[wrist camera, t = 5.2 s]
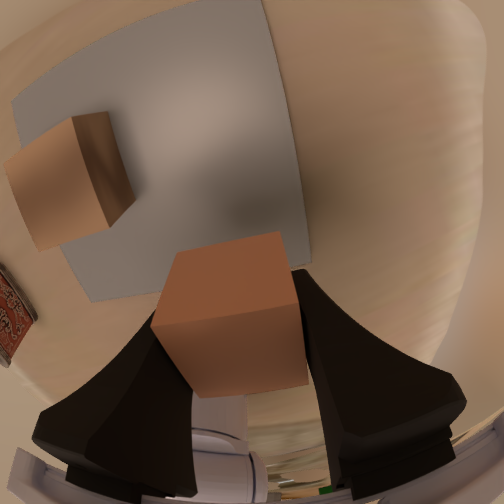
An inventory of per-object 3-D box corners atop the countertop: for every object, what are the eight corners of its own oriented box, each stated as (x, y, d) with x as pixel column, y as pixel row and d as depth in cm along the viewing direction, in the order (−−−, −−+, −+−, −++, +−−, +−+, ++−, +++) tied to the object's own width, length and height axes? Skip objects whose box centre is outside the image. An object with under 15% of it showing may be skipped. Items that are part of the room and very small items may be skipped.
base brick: (135, 200, 16) (109, 228, 12) (69, 223, 16) (39, 252, 13) (107, 111, 13) (71, 116, 9) (41, 148, 13) (3, 163, 10)
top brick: (293, 309, 12) (308, 384, 9) (207, 324, 12) (199, 398, 9) (279, 230, 10) (299, 302, 7) (177, 252, 10) (150, 326, 7)
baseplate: (308, 254, 19) (311, 262, 18) (95, 295, 21) (91, 302, 20) (256, -5, 10) (257, -11, 9) (19, 99, 12) (11, 100, 11)
